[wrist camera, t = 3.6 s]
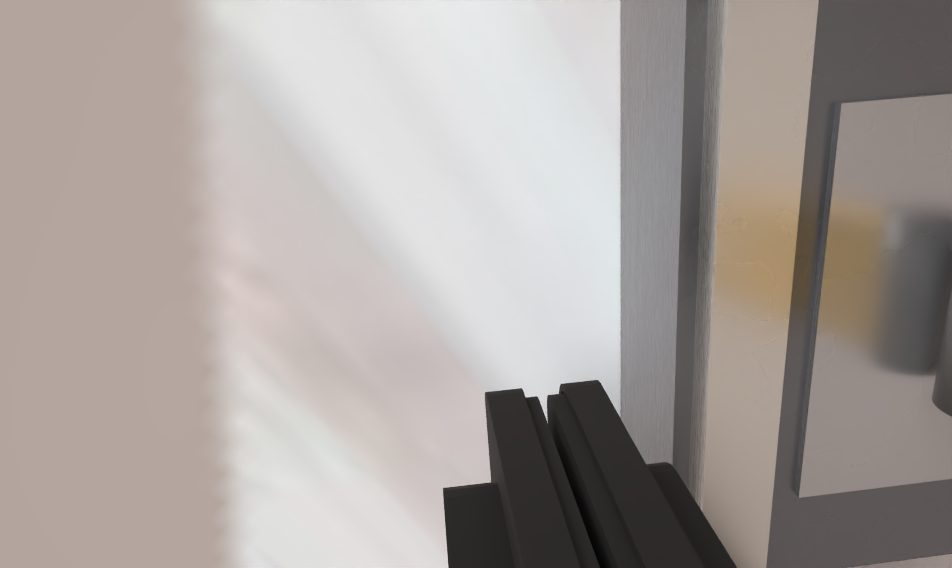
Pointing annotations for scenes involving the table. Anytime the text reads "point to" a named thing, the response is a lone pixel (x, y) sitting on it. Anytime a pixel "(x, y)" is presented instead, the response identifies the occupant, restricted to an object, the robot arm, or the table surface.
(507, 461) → the robot arm
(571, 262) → the table surface
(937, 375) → the paddle amber
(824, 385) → the breaker panel
